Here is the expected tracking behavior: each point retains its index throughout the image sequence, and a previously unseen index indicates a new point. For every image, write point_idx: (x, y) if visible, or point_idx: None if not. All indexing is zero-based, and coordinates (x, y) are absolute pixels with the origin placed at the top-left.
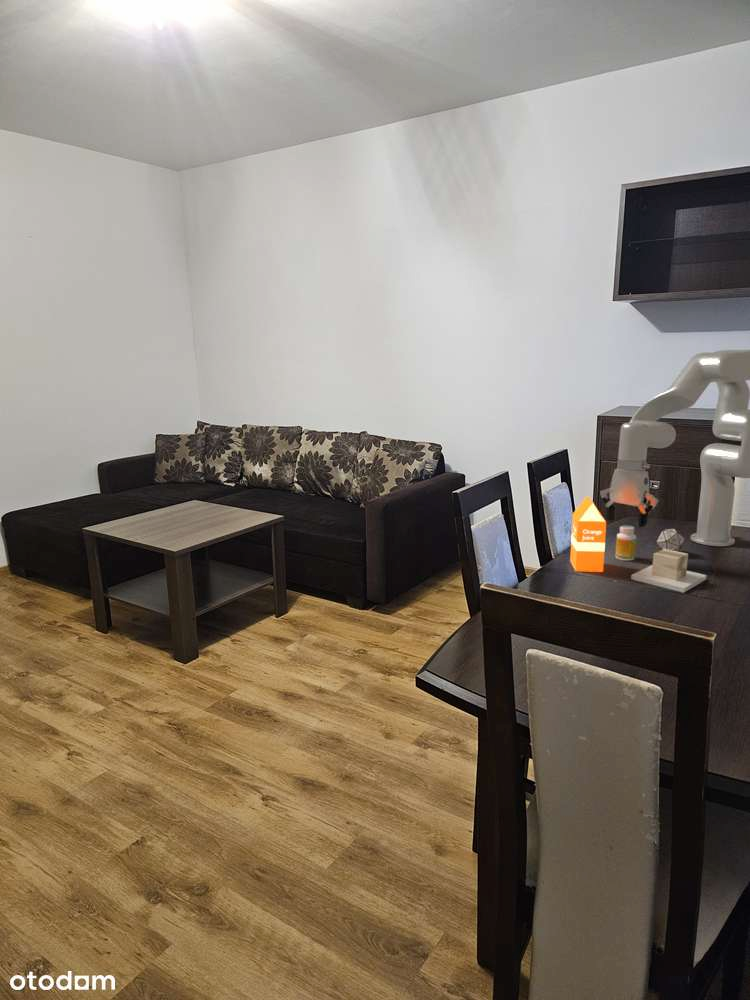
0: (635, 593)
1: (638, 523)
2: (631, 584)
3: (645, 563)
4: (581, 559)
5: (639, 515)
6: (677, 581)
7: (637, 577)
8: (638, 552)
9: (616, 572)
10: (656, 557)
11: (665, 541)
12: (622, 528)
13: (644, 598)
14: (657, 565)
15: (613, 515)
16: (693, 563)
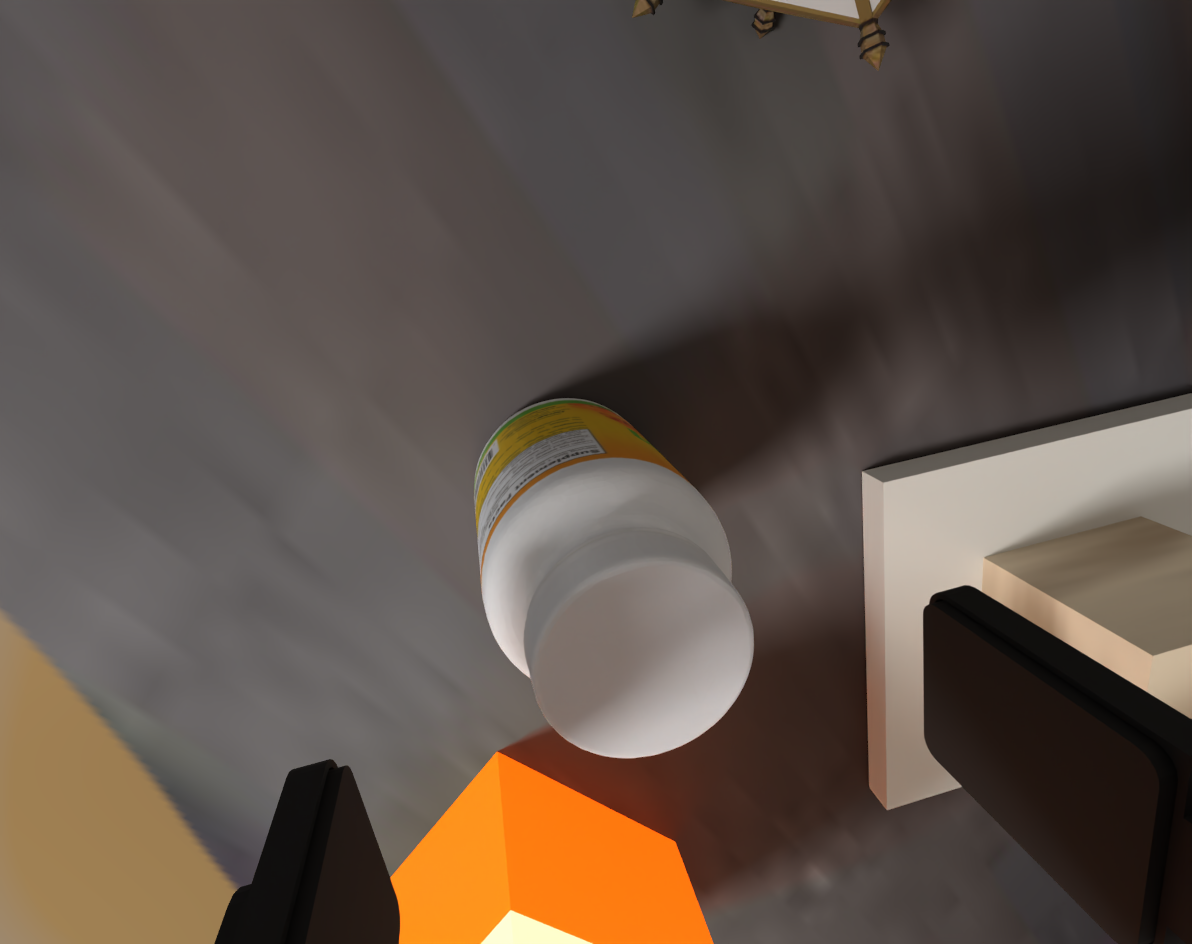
0: (984, 899)
1: (962, 784)
2: (911, 837)
3: (759, 447)
4: None
5: (1106, 924)
6: None
7: (921, 791)
8: (511, 191)
9: (738, 777)
10: None
11: (878, 68)
12: (635, 750)
13: (1040, 903)
14: None
15: (344, 868)
16: (1042, 65)
